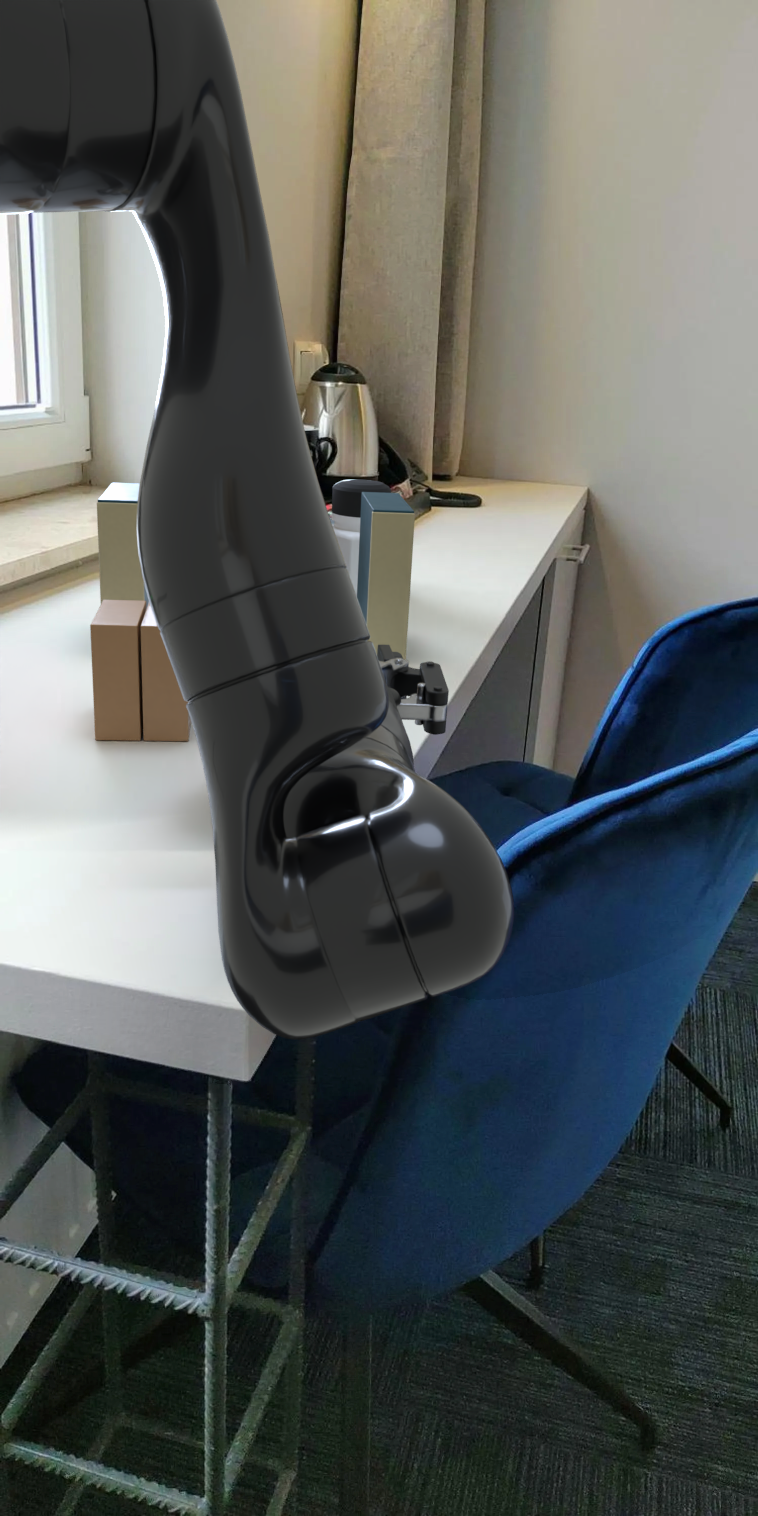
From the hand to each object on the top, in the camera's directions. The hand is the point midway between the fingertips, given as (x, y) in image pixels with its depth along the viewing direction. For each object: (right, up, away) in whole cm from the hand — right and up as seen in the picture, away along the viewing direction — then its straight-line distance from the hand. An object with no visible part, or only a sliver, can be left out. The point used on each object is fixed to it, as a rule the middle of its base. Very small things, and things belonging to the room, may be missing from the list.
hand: (314, 657), depth 70 cm
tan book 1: (-14, -4, +8) cm, 17 cm away
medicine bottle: (+2, +11, +48) cm, 50 cm away
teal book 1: (-18, +4, +27) cm, 33 cm away
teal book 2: (+4, +4, +30) cm, 30 cm away
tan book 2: (-11, -4, +8) cm, 14 cm away
